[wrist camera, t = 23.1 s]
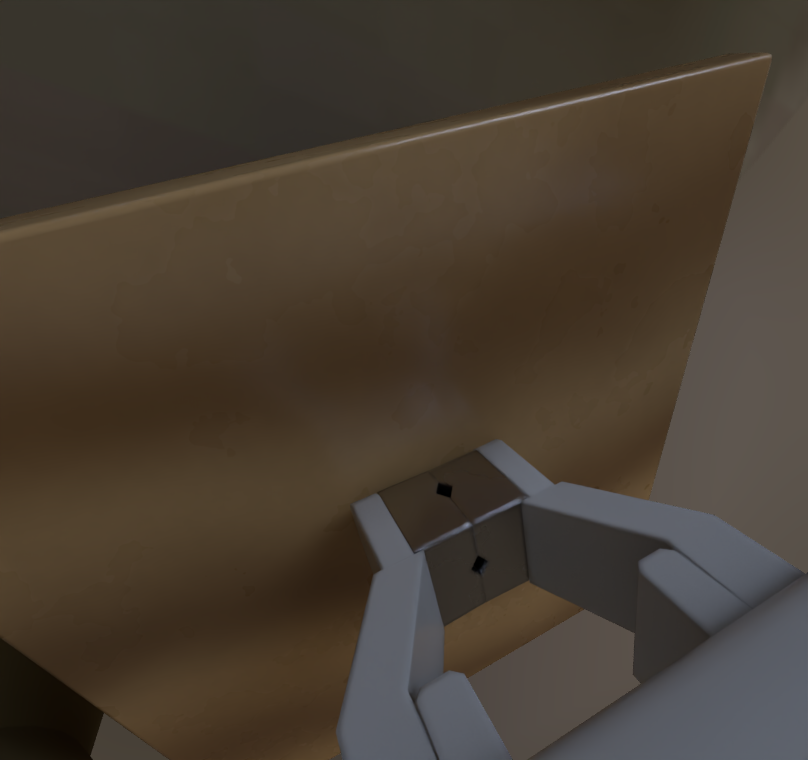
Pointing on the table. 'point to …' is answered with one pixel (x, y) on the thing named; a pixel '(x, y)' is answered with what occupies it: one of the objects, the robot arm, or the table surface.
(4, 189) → the table surface
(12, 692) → the olive tapered rounded piece
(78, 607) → the bin lid
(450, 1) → the table surface
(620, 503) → the robot arm
